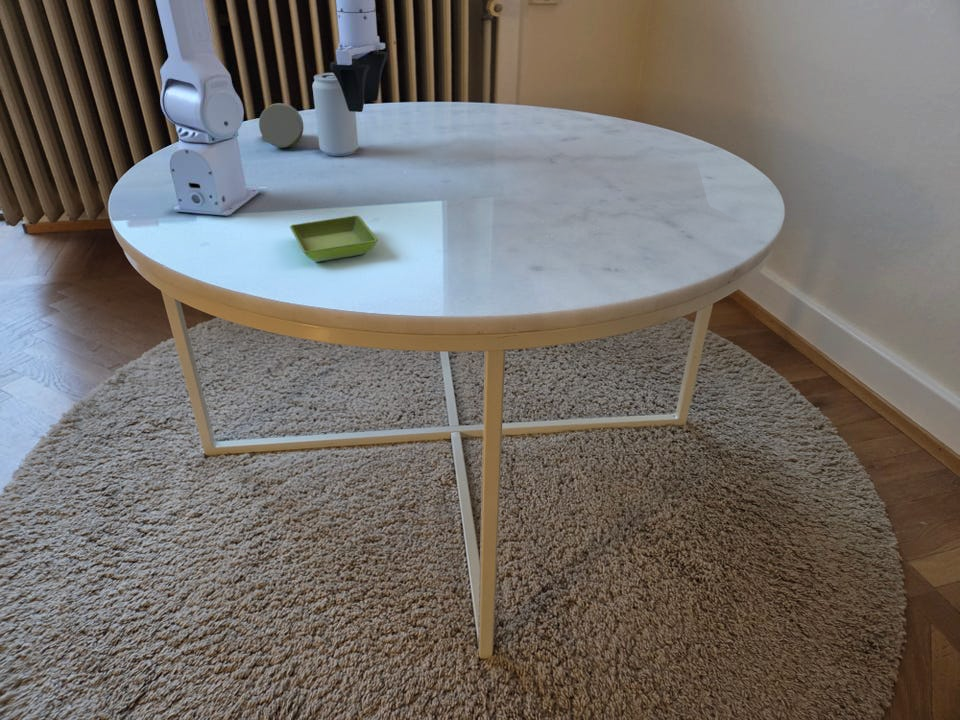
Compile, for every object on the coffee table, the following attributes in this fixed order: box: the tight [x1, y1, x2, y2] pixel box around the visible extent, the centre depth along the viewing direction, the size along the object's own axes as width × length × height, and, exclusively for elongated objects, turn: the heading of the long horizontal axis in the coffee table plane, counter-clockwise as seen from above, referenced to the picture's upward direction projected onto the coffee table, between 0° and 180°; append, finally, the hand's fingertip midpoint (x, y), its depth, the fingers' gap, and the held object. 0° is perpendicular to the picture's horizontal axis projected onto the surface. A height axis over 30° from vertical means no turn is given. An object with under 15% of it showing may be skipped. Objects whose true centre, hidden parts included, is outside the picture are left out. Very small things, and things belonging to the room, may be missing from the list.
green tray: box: [289, 215, 378, 263], centre depth 81 cm, size 9×9×2 cm
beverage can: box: [311, 72, 359, 157], centre depth 110 cm, size 6×6×12 cm
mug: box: [258, 102, 304, 149], centre depth 115 cm, size 8×10×10 cm
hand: (363, 105), depth 108 cm, fingers open, 7 cm apart
